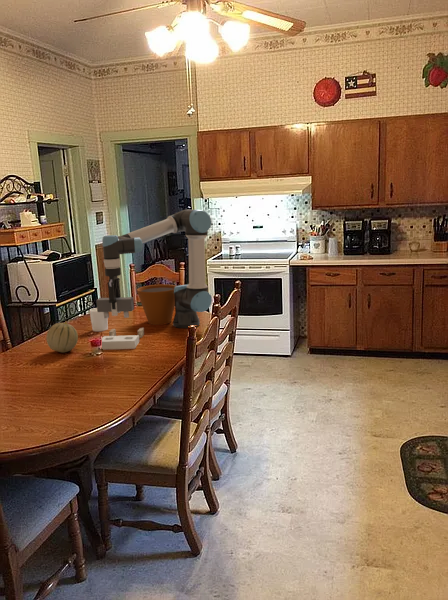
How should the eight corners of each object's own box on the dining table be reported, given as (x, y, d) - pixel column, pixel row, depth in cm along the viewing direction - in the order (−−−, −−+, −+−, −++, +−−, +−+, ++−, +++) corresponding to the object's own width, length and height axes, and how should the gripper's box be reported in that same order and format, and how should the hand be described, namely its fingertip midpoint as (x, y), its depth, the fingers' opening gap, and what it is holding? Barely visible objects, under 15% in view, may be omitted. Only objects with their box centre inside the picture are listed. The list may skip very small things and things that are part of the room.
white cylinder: (107, 332, 293) (105, 311, 291) (89, 332, 294) (87, 311, 291) (111, 327, 303) (109, 307, 301) (94, 328, 303) (92, 307, 301)
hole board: (139, 342, 270) (138, 335, 269) (135, 348, 261) (134, 340, 260) (104, 343, 271) (103, 336, 271) (99, 349, 262) (98, 341, 261)
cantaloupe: (41, 354, 258) (37, 324, 255) (63, 346, 271) (60, 317, 267) (64, 357, 251) (60, 327, 248) (85, 349, 264) (82, 319, 261)
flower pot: (136, 319, 320) (134, 286, 316) (175, 314, 327) (173, 282, 322) (142, 328, 298) (140, 293, 293) (184, 323, 304) (182, 289, 300)
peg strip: (134, 315, 265) (133, 297, 263) (132, 318, 260) (130, 299, 258) (101, 316, 266) (99, 298, 264) (98, 319, 261) (96, 300, 259)
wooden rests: (144, 335, 284) (143, 327, 283) (141, 338, 278) (141, 331, 277) (112, 336, 285) (111, 328, 284) (109, 339, 279) (108, 331, 278)
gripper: (109, 265, 267) (113, 310, 271) (99, 270, 249) (103, 318, 254) (124, 264, 266) (128, 309, 271) (115, 270, 249) (119, 318, 253)
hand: (116, 314), depth 262 cm, fingers closed on peg strip, 5 cm apart
